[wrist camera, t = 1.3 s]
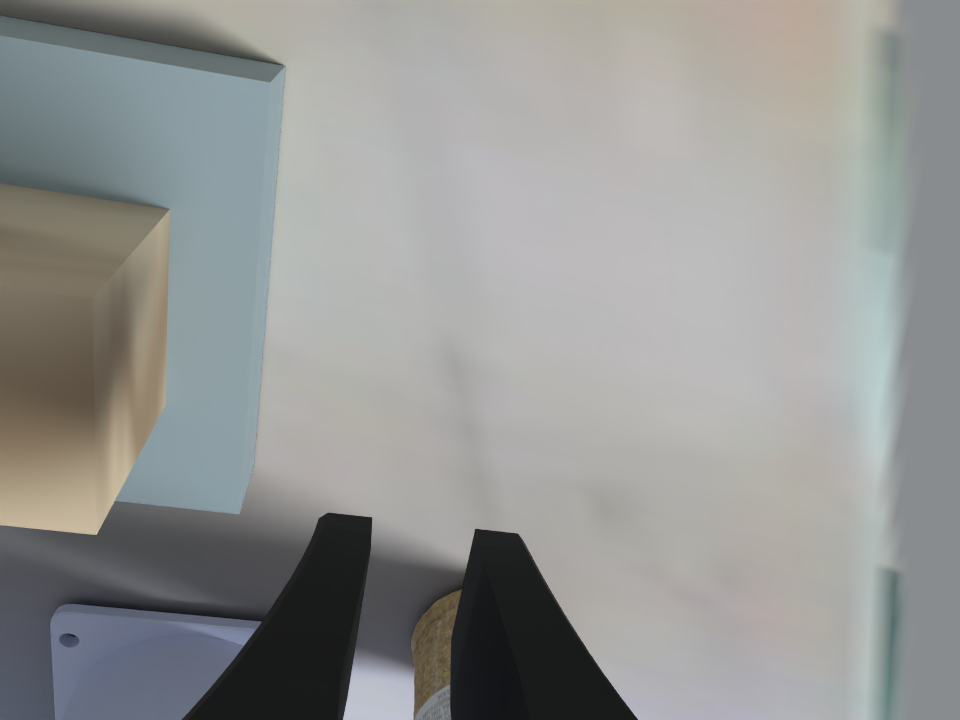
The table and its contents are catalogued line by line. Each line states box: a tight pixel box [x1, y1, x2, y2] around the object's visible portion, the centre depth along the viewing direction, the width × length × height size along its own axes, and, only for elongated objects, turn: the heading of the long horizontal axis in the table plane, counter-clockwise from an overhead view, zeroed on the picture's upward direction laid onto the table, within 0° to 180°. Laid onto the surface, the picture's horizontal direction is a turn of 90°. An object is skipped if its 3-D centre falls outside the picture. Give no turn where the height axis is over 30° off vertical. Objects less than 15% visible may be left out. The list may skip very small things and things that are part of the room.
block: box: [0, 183, 170, 535], centre depth 16 cm, size 4×4×4 cm
